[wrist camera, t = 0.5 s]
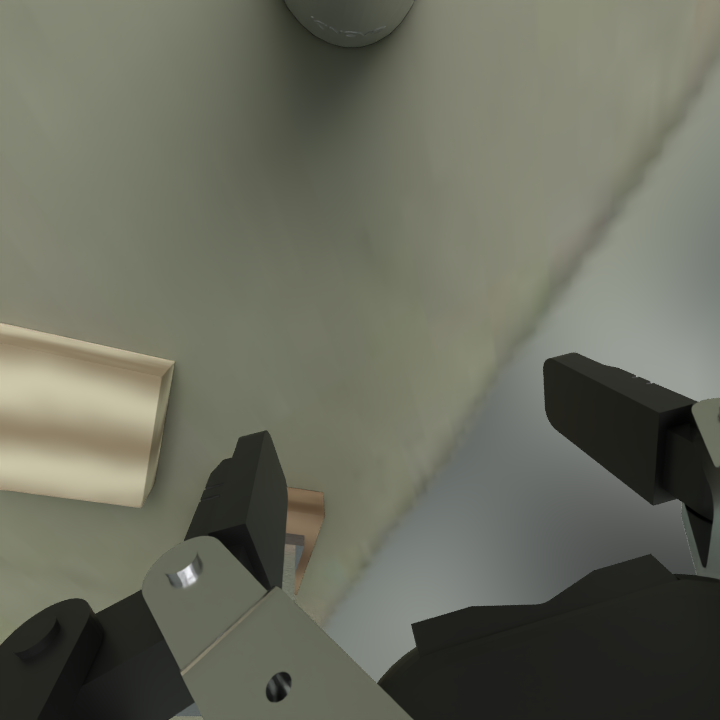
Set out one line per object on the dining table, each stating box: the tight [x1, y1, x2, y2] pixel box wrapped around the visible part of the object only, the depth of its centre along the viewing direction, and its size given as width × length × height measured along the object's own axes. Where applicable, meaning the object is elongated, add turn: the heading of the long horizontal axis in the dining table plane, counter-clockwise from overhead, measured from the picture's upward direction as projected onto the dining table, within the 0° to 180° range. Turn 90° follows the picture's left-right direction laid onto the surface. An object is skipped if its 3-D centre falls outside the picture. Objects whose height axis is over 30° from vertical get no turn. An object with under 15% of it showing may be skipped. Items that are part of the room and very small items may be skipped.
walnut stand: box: [286, 487, 325, 595], centre depth 35 cm, size 10×10×3 cm
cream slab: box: [0, 323, 175, 508], centre depth 29 cm, size 12×12×3 cm
